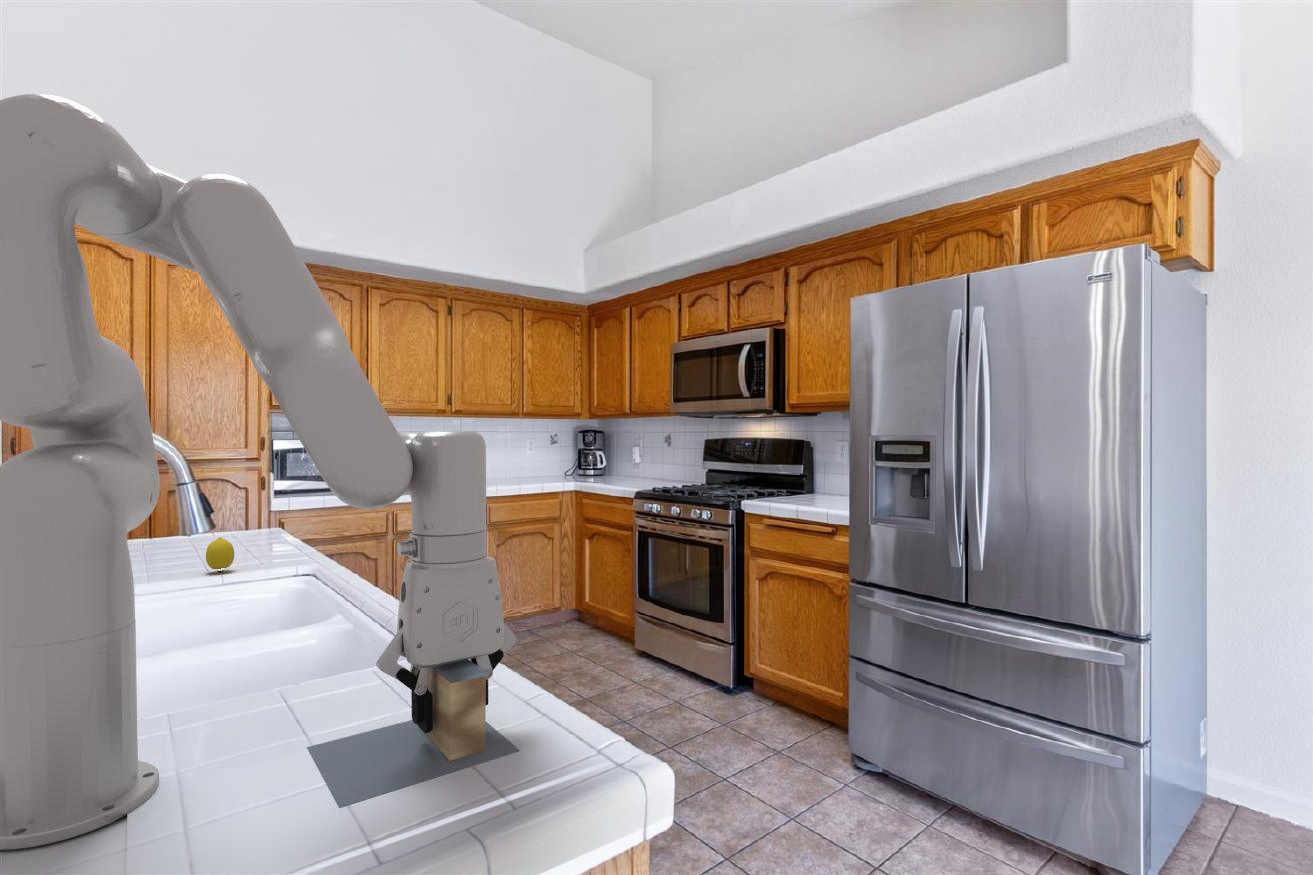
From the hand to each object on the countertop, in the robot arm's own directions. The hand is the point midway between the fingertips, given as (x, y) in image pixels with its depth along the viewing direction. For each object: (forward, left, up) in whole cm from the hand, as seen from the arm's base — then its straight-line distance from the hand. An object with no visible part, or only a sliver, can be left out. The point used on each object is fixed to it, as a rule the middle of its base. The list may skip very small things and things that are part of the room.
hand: (451, 718), depth 72 cm
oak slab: (0, 0, -2) cm, 2 cm away
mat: (-4, 0, -2) cm, 5 cm away
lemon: (-11, +114, -3) cm, 115 cm away
